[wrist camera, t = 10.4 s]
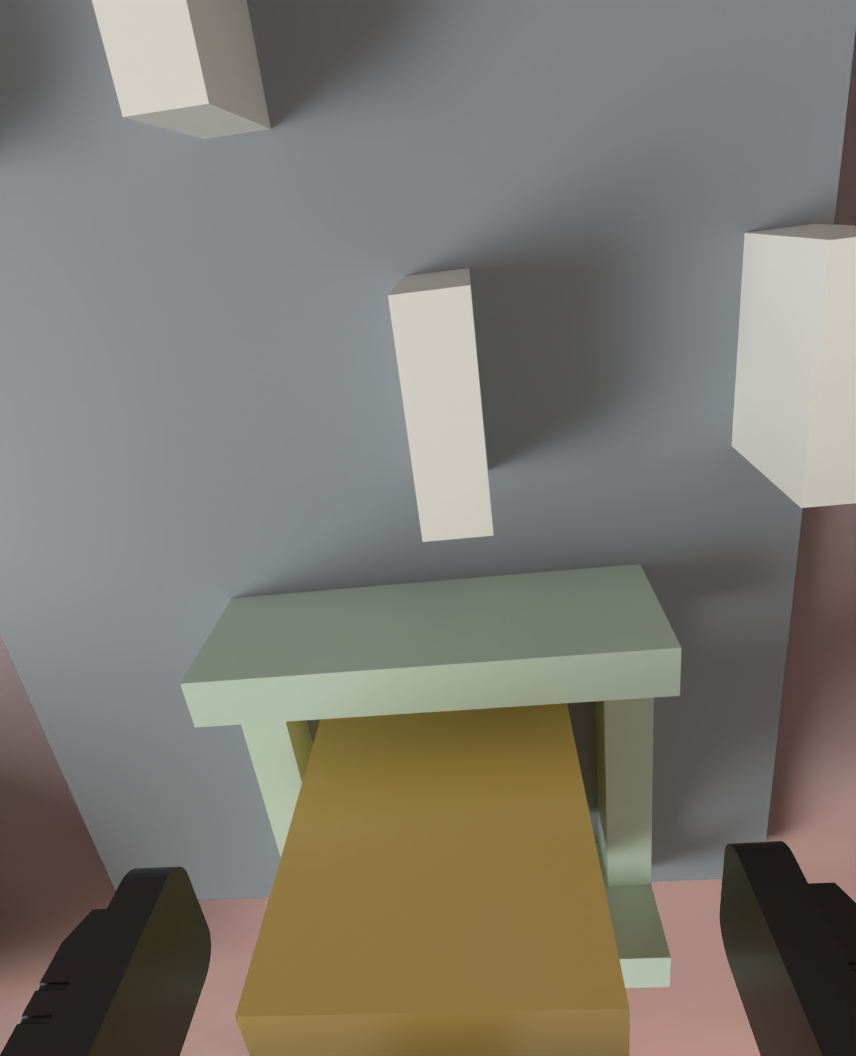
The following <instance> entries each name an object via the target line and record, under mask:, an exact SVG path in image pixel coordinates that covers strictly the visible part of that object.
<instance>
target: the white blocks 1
mask: <svg viewBox="0 0 856 1056" xmlns="http://www.w3.org/2000/svg"><path fill="white" fill-rule="evenodd" d="M92 3H93V7H94V11H95V15H96V18H97V22H98V26H99V30H100V33H101V37H102V41H103V45H104V48H105V52H106V56H107V60H108V64H109V67H110V71H111V75H112V79H113V82H114V86H115V90H116V94H117V97H118V101H119V105H120V109H121V113H122V116H123V117H124V118H128V119H132V120H135V121H139V122H143V123H147V124H150V125H154V126H158V127H162V128H165V129H169V130H173V131H176V132H180V133H184V134H188V135H191V136H195V137H199V138H203V139H209V138H215V137H222V136H229V135H235V134H242V133H248V132H255V131H262V130H268V129H271V126H270V121H269V116H268V110H267V105H266V100H265V95H264V89H263V84H262V79H261V74H260V68H259V63H258V58H257V52H256V47H255V42H254V37H253V31H252V26H251V21H250V16H249V10H248V5H247V0H92Z"/></svg>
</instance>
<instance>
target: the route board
mask: <svg viewBox="0 0 856 1056" xmlns="http://www.w3.org/2000/svg"><path fill="white" fill-rule="evenodd" d="M247 5H248V10H249V16H250V21H251V26H252V31H253V37H254V42H255V47H256V52H257V58H258V63H259V68H260V74H261V79H262V84H263V89H264V95H265V100H266V105H267V110H268V116H269V121H270V126H271V129H268V130H262V131H255V132H248V133H242V134H235V135H229V136H222V137H215V138H209V139H203V138H199V137H195V136H191V135H188V134H184V133H180V132H176V131H173V130H169V129H165V128H162V127H158V126H154V125H150V124H147V123H143V122H139V121H135V120H132V119H128V118H124V117H123V116H122V113H121V109H120V105H119V101H118V97H117V94H116V90H115V86H114V82H113V79H112V75H111V71H110V67H109V64H108V60H107V56H106V52H105V48H104V45H103V41H102V37H101V33H100V30H99V26H98V22H97V18H96V15H95V11H94V7H93V3H92V0H0V636H1V638H2V641H3V643H4V645H5V647H6V649H7V652H8V654H9V656H10V658H11V661H12V663H13V665H14V667H15V669H16V672H17V674H18V676H19V678H20V681H21V683H22V685H23V687H24V689H25V692H26V694H27V696H28V698H29V701H30V703H31V705H32V707H33V709H34V712H35V714H36V716H37V718H38V720H39V723H40V725H41V727H42V729H43V732H44V734H45V736H46V738H47V740H48V743H49V745H50V747H51V749H52V752H53V754H54V756H55V758H56V760H57V763H58V765H59V767H60V769H61V772H62V774H63V776H64V778H65V780H66V783H67V785H68V787H69V789H70V792H71V794H72V796H73V798H74V800H75V803H76V805H77V807H78V809H79V811H80V814H81V816H82V818H83V820H84V823H85V825H86V827H87V829H88V831H89V834H90V836H91V838H92V840H93V843H94V845H95V847H96V849H97V851H98V854H99V856H100V858H101V860H102V863H103V865H104V867H105V869H106V871H107V874H108V876H109V878H110V880H111V883H112V885H113V887H114V889H115V891H116V890H117V888H118V886H119V884H120V882H121V881H122V879H123V877H124V876H125V875H126V874H127V873H128V872H129V871H130V870H132V869H135V868H155V867H177V866H180V867H183V868H184V869H185V870H186V872H187V874H188V876H189V879H190V881H191V884H192V886H193V889H194V892H195V894H196V897H197V899H198V900H209V899H234V898H259V897H270V894H271V890H272V887H273V883H274V880H275V876H276V873H277V869H278V866H279V862H280V859H281V857H280V854H279V851H278V847H277V844H276V840H275V837H274V834H273V830H272V827H271V824H270V820H269V817H268V814H267V810H266V807H265V804H264V800H263V797H262V793H261V790H260V787H259V783H258V780H257V777H256V773H255V770H254V767H253V763H252V760H251V757H250V753H249V750H248V747H247V743H246V740H245V736H244V733H243V730H242V726H241V725H226V726H211V727H194V724H193V721H192V718H191V715H190V712H189V709H188V706H187V703H186V700H185V697H184V694H183V691H182V688H181V685H180V683H181V682H182V680H183V678H184V677H185V675H186V673H187V672H188V670H189V668H190V667H191V665H192V663H193V662H194V660H195V658H196V657H197V655H198V653H199V652H200V650H201V648H202V647H203V645H204V643H205V642H206V640H207V638H208V637H209V635H210V633H211V632H212V630H213V628H214V627H215V625H216V623H217V622H218V620H219V618H220V617H221V615H222V613H223V612H224V610H225V608H226V607H227V605H228V603H229V602H230V600H231V598H239V597H251V596H263V595H275V594H287V593H299V592H310V591H322V590H334V589H346V588H358V587H370V586H382V585H394V584H406V583H418V582H430V581H442V580H454V579H465V578H477V577H489V576H501V575H513V574H525V573H537V572H549V571H561V570H573V569H585V568H597V567H609V566H620V565H632V564H641V566H642V568H643V570H644V572H645V575H646V577H647V579H648V581H649V583H650V585H651V587H652V589H653V591H654V593H655V595H656V597H657V599H658V601H659V603H660V605H661V607H662V609H663V611H664V613H665V615H666V617H667V619H668V621H669V623H670V625H671V627H672V629H673V632H674V634H675V636H676V638H677V640H678V642H679V644H680V646H681V675H680V696H669V697H654V717H653V783H652V849H651V882H657V881H681V880H706V879H722V878H723V866H724V853H725V847H726V845H727V844H731V843H753V842H766V837H767V828H768V819H769V810H770V801H771V792H772V783H773V774H774V765H775V756H776V747H777V738H778V729H779V720H780V711H781V702H782V693H783V684H784V674H785V665H786V656H787V647H788V638H789V629H790V620H791V611H792V602H793V593H794V584H795V575H796V566H797V557H798V548H799V539H800V530H801V521H802V512H803V508H800V507H799V506H798V505H797V504H796V503H795V502H794V501H793V500H792V499H790V498H789V497H788V496H787V495H786V494H785V493H784V492H783V491H781V490H780V489H779V488H778V487H777V486H776V485H775V484H774V483H772V482H771V481H770V480H769V479H768V478H767V477H766V476H765V475H764V474H762V473H761V472H760V471H759V470H758V469H757V468H756V467H755V466H753V465H752V464H751V463H750V462H749V461H748V460H747V459H746V458H744V457H743V456H742V455H741V454H740V453H739V452H738V451H737V450H736V449H734V448H733V447H732V430H733V414H734V397H735V381H736V365H737V348H738V332H739V316H740V300H741V283H742V267H743V251H744V234H745V233H746V232H754V231H762V230H770V229H778V228H786V227H793V226H801V225H809V224H832V225H834V222H835V213H836V204H837V195H838V186H839V177H840V168H841V159H842V149H843V140H844V131H845V122H846V113H847V104H848V95H849V86H850V77H851V68H852V59H853V50H854V41H855V32H856V0H247ZM464 268H469V270H470V281H471V292H472V303H473V313H474V324H475V335H476V346H477V357H478V367H479V378H480V389H481V400H482V411H483V421H484V432H485V443H486V454H487V465H488V476H489V488H490V500H491V511H492V523H493V535H494V536H484V537H473V538H462V539H451V540H439V541H428V542H422V535H421V528H420V520H419V513H418V506H417V499H416V492H415V485H414V478H413V471H412V464H411V457H410V449H409V442H408V435H407V428H406V421H405V414H404V407H403V400H402V393H401V385H400V378H399V371H398V364H397V357H396V350H395V343H394V336H393V329H392V322H391V314H390V307H389V300H388V295H389V294H390V292H391V291H392V290H393V289H394V288H395V287H396V286H397V285H398V284H399V282H400V281H401V280H402V279H403V278H404V277H405V276H409V275H417V274H425V273H433V272H440V271H448V270H456V269H464ZM567 706H568V711H569V715H570V720H571V725H572V730H573V735H574V740H575V745H576V750H577V755H578V760H579V764H580V769H581V774H582V779H583V784H584V789H585V794H586V799H587V804H588V808H589V813H590V818H591V823H592V828H593V833H594V838H595V843H599V824H598V789H597V755H596V720H595V701H593V702H578V703H567ZM307 722H308V726H309V730H310V734H311V738H312V742H313V743H314V740H315V736H316V733H317V729H318V726H319V722H320V719H318V720H307Z"/></svg>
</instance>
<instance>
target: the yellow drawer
mask: <svg viewBox="0 0 856 1056" xmlns="http://www.w3.org/2000/svg"><path fill="white" fill-rule="evenodd" d="M236 1020H237V1022H238V1025H239V1028H240V1030H241V1033H242V1035H243V1038H244V1041H245V1043H246V1046H247V1049H248V1051H249V1054H250V1056H629V1004H628V999H627V994H626V989H625V985H624V980H623V975H622V970H621V965H620V960H619V955H618V950H617V945H616V941H615V936H614V931H613V926H612V921H611V916H610V911H609V906H608V901H607V896H606V892H605V887H604V882H603V877H602V872H601V867H600V862H599V857H598V852H597V848H596V843H595V838H594V833H593V828H592V823H591V818H590V813H589V808H588V804H587V799H586V794H585V789H584V784H583V779H582V774H581V769H580V764H579V760H578V755H577V750H576V745H575V740H574V735H573V730H572V725H571V720H570V715H569V711H568V706H567V703H562V704H547V705H532V706H516V707H501V708H486V709H471V710H455V711H440V712H425V713H409V714H394V715H379V716H364V717H348V718H333V719H320V722H319V726H318V729H317V733H316V736H315V740H314V743H313V747H312V750H311V754H310V757H309V761H308V764H307V768H306V771H305V775H304V778H303V782H302V785H301V789H300V792H299V796H298V799H297V803H296V806H295V810H294V813H293V817H292V820H291V824H290V827H289V831H288V834H287V838H286V841H285V845H284V848H283V852H282V855H281V859H280V862H279V866H278V869H277V873H276V876H275V880H274V883H273V887H272V890H271V894H270V897H269V901H268V904H267V908H266V911H265V915H264V918H263V922H262V925H261V929H260V932H259V936H258V939H257V943H256V946H255V950H254V953H253V957H252V960H251V964H250V967H249V971H248V974H247V978H246V981H245V985H244V988H243V992H242V995H241V999H240V1002H239V1006H238V1010H237V1013H236Z"/></svg>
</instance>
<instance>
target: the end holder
mask: <svg viewBox="0 0 856 1056" xmlns="http://www.w3.org/2000/svg"><path fill="white" fill-rule="evenodd" d="M680 675H681V646H680V644H679V642H678V640H677V638H676V636H675V634H674V632H673V629H672V627H671V625H670V623H669V621H668V619H667V617H666V615H665V613H664V611H663V609H662V607H661V605H660V603H659V601H658V599H657V597H656V595H655V593H654V591H653V589H652V587H651V585H650V583H649V581H648V579H647V577H646V575H645V572H644V570H643V568H642V566H641V564H632V565H620V566H609V567H597V568H585V569H573V570H561V571H549V572H537V573H525V574H513V575H501V576H489V577H477V578H465V579H454V580H442V581H430V582H418V583H406V584H394V585H382V586H370V587H358V588H346V589H334V590H322V591H310V592H299V593H287V594H275V595H263V596H251V597H239V598H231V600H230V602H229V603H228V605H227V607H226V608H225V610H224V612H223V613H222V615H221V617H220V618H219V620H218V622H217V623H216V625H215V627H214V628H213V630H212V632H211V633H210V635H209V637H208V638H207V640H206V642H205V643H204V645H203V647H202V648H201V650H200V652H199V653H198V655H197V657H196V658H195V660H194V662H193V663H192V665H191V667H190V668H189V670H188V672H187V673H186V675H185V677H184V678H183V680H182V682H181V683H180V685H181V688H182V691H183V694H184V697H185V700H186V703H187V706H188V709H189V712H190V715H191V718H192V721H193V724H194V727H211V726H226V725H241V726H242V730H243V733H244V736H245V740H246V743H247V747H248V750H249V753H250V757H251V760H252V763H253V767H254V770H255V773H256V777H257V780H258V783H259V787H260V790H261V793H262V797H263V800H264V804H265V807H266V810H267V814H268V817H269V820H270V824H271V827H272V830H273V834H274V837H275V840H276V844H277V847H278V851H279V854H280V857H281V855H282V852H283V848H284V845H285V841H286V838H287V834H288V831H289V827H290V824H291V820H292V817H293V813H294V810H295V806H296V803H297V799H298V796H299V792H300V789H301V785H302V782H303V778H304V775H305V771H306V768H307V764H308V761H309V757H310V754H311V750H312V747H313V742H312V738H311V734H310V730H309V726H308V722H307V720H318V719H333V718H348V717H364V716H379V715H394V714H409V713H425V712H440V711H455V710H471V709H486V708H501V707H516V706H532V705H547V704H562V703H578V702H593V701H595V720H596V755H597V789H598V824H599V843H596V848H597V852H598V857H599V862H600V867H601V872H602V877H603V882H604V887H605V892H606V896H607V901H608V906H609V911H610V916H611V921H612V926H613V931H614V936H615V941H616V945H617V950H618V955H619V960H620V965H621V970H622V975H623V980H624V985H625V988H647V987H670V966H671V957H670V953H669V949H668V946H667V942H666V938H665V935H664V931H663V927H662V924H661V920H660V916H659V913H658V909H657V905H656V902H655V898H654V894H653V891H652V887H651V849H652V783H653V717H654V697H669V696H680Z"/></svg>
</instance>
